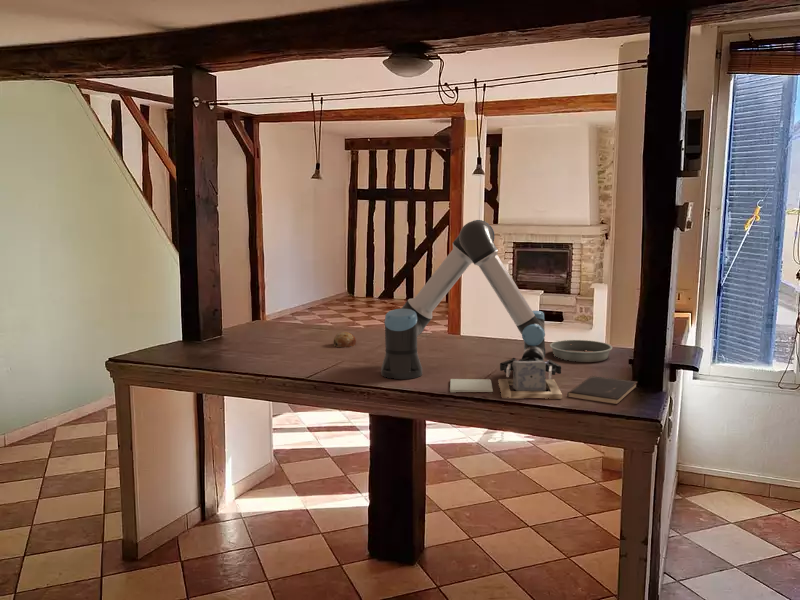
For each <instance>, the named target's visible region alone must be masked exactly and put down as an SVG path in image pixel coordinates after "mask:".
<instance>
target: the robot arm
mask: <svg viewBox="0 0 800 600" xmlns="http://www.w3.org/2000/svg"><path fill="white" fill-rule="evenodd" d="M494 241H495V231H494V229H493V227H492V226H491V225H490V223H488V222H487V221H485V220H480V219H474V220H472V221H469V222H467V223H466V224H464V225H463V226H462V228H461V229H460V232H459V234H458V235H457V237H455V239H454V241H453V242H452V250H451V251H450V252H449V253H448V255H447V256H446V257H445V259H444V260H443V261H442V262H441V264H440V265H439V266H438V267H437V269H436V270H435V272H434V273H433V274H432V275H431V276H430V278H429V279H428V281H427V282H426V283H425V284H424V285H423V287H422V288H421V289H420V291H418V293H417V294H416V295H415V297H414V298H409V299H408V300H407V301H406V302H405V303H404V304H403V306H402V307H401V308H396V309H393V310H392V309H391V310H389V311H387V313H385V316H384V336H385V337H384V339H385V341H384V342H385V343H384V344H385V353H384V359H383V362H382V364H381V369H380V375H381V376H382V377H383V376H384V377H383V378H386V377H387V378H386V379H391V378H394V379H393V380H409V379H417V378H419V377H421V376H422V375H423V366H422V363H421V361H420V357H419V353H418V336H419V335H421V334H422V332H424V330H425V328H426V327H427V326H428V324H429V323H430V322H431V320H432V319H433V312H434V310H435V309H436V308H437V306H439V304H440V303H441V302H442V301H443V300H444V298H445V296H446V295H447V294H448V293H449V292H450V291H451V289H452V288H453V287H454V285H456V283H457V282H458V280H459V279H460V278H461V277H462V276H463V274H464V273H465V272H466V271H467V269H468V268H469V267H470V266H471V264H474V266H477V267H479V269H480V271H481V272H482V274H483V275H484V276H485V278H486V280H487V281H488V283H489V284H490V286H491V288H492V289H493V291H494V293H495V294H496V296H497V297H498V299H499V300H500V303H501V304H502V305H503V306H504V309H505V310H506V311H507V313H508V315H509V317H510V318H511V320H512V321H513V322H514V324H515V326H516V327H517V329H518V331H519V332H520V334H521V338H522V340H523V353H522V356H521V358H520V359H519V360H517V358H516V357H512V358H511V359H508V360H506V361H502V362H500V363H499V371H501V372H504V373H505V375H506V376H505V377H506V378H510V375H511V371H513V361H515V360H516V361H537V360H540V361H544V362H545V364H546V366H545V368H546V370H545V371H546V372H547V373H548V379H552V376H554V375H556V373H557V374H558V375H561V374H562V365H560V364H558V363H556V362H554V361H553V360H552V359H548V360H546V361H545V360H544V359H545V356H546V346H545V344H546V341H545V340H546V339H545V338H546V337H545V336H546V333H545V331H546V330H545V320H546V319H545V312H544V311H541V310H533V309H532V308H531V306H530V304H529V303H528V301H527V300H526V298H525V297H524V295H523V294H522V292H521V290H520V289H519V287H518V285H517V284H516V282H515V281H514V279H513V277H512V276H511V274H510V273H509V271H508V270H507V268H506V266H505V264H504V262H503V261H502V260H501V258H500V257H499V255H498V251H499V249H498V248H497V246H496V245H495V242H494Z"/></svg>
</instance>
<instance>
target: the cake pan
mask: <svg viewBox="0 0 800 600" xmlns="http://www.w3.org/2000/svg"><path fill="white" fill-rule="evenodd" d="M570 344H572V345H570ZM549 348H551V349H552V354H554V355H555V356H556V357H558V358H557V359H559V358H561V359H560V360H562V359H564V360H563V361H567V360H569V362H575V361H576V362H578V363H592V362H602V361H605V360H607V359H608V358H609V355H610V352H611V350H612V349H613V346H612V345H611V344H609V343H606V342H602V341H595V340H588V339H587V340H586V339H564V340H556V341H554V342H551V343H550V344H549ZM566 350H567V351H566ZM583 350H587V351H593V352H584V351H583ZM554 355H553V356H554ZM555 356H554V357H555ZM556 357H555V358H556Z"/></svg>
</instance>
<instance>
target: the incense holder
mask: <svg viewBox="0 0 800 600" xmlns="http://www.w3.org/2000/svg"><path fill="white" fill-rule="evenodd" d="M516 360H517V359H516ZM516 360H515V361H513V370H512V371H513V372H512V376H513V377H512V379H513V386H512V389H514V390H515V391H543V392H547V391H546V390H547V386H546V379H547V378H546V374H547V373H546V371H545V370H546V368H545V366H546V364H545V362H546V361H545V360H544V361H540V360H537V361H519V360H517V361H516Z"/></svg>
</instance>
